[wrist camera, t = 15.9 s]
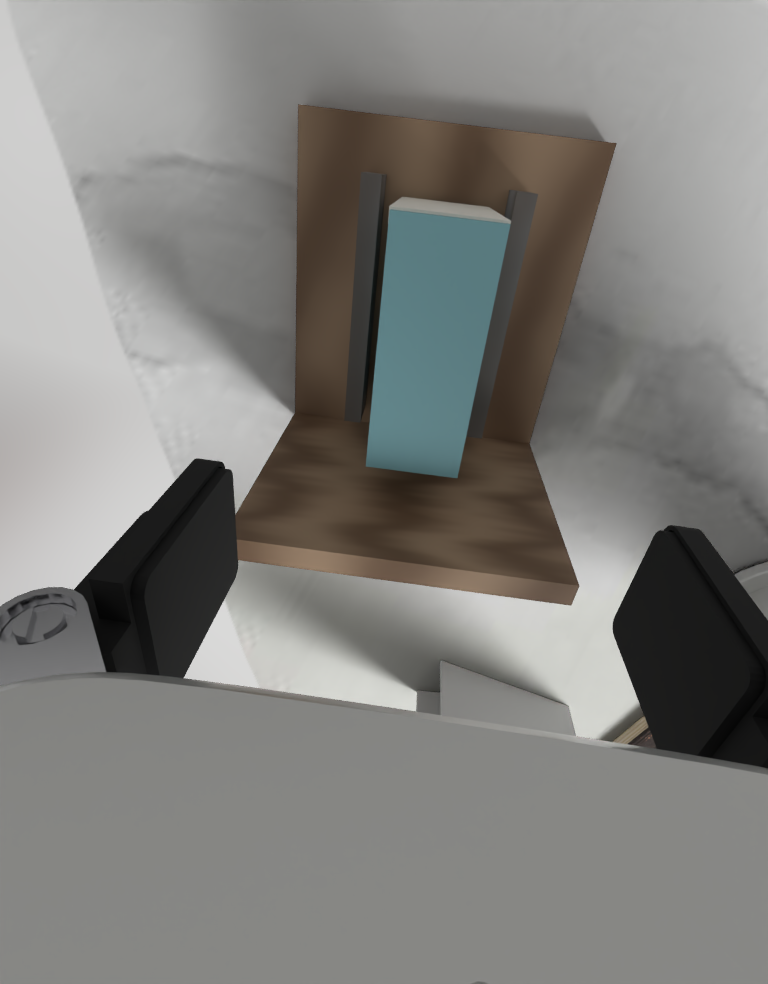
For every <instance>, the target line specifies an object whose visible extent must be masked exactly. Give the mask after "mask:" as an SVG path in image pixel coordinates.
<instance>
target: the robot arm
mask: <svg viewBox="0 0 768 984" xmlns="http://www.w3.org/2000/svg"><path fill="white" fill-rule="evenodd" d="M237 570H238V552H237V536H236V520H235V504H234V489H233V475H232V471H231V470H229V469H225V466H224V464H223V463H222V462H219V461H212V460H205V459H195V460H193V461H192V462H191V464H190V465H189V466H188V467H187V468H186V469H185V470H184V471H183V473H182V474H181V475H180V476H179V477H178V478H177V479H176V481H175V482H174V483H173V484H172V485H171V486H170V487H169V488H168V490H167V491H166V492H165V493H164V494H163V495H162V496H161V497H160V499H159V500H158V501H157V502H156V503H155V504H154V505H153V506H152V508H151V509H150V510H149V511H146V512H144V513H143V514H142V515H141V516H140V517H139V518H138V519H137V520H136V521H135V522H134V523H133V525H132V526H131V527H130V528H129V529H128V530H127V531H126V532H125V533H124V535H123V536H122V537H121V538H120V539H119V540H118V541H117V542H116V544H115V545H114V546H113V547H112V548H111V549H110V550H109V551H108V553H106V555H105V556H104V557H103V558H102V559H101V560H100V561H99V562H98V563H97V565H96V566H95V567H94V568H93V569H92V570H91V571H90V572H89V573H88V575H87V576H86V577H85V578H84V579H83V580H82V581H81V582H80V584H79V585H78V586H77V587H76V588H75V589H74V590H72V589H67V588H63V587H48V588H43V589H38V590H33V591H30V592H27V593H24V594H22V595H19V596H17V597H15V598H13V599H11V600H10V601H8V602H6V603H5V604H3V605H2V606H0V984H768V562H766V563H762V564H758V565H755V566H753V567H750V568H748V569H745V570H743V571H740V572H738V573H737V574H735V575H734V574H733V573H732V571H731V570H730V569H729V567H728V566H727V565H726V563H725V562H724V561H723V559H722V558H721V556H720V555H719V554H718V552H717V551H716V550H715V548H714V547H713V546H712V544H711V543H710V542H709V540H708V539H707V538H706V536H705V535H704V534H703V532H702V531H701V530H699V529H695V528H687V527H680V526H673V525H670V526H667V527H666V528H665V529H664V531H661V530H660V531H658V532H657V533H656V534H655V535H654V537H653V539H652V541H651V543H650V545H649V548H648V550H647V552H646V554H645V556H644V558H643V560H642V562H641V564H640V566H639V568H638V570H637V572H636V574H635V576H634V578H633V580H632V582H631V585H630V587H629V589H628V591H627V593H626V595H625V597H624V599H623V601H622V603H621V605H620V607H619V609H618V611H617V613H616V615H615V618H614V621H613V634H614V637H615V640H616V642H617V645H618V648H619V650H620V653H621V656H622V658H623V661H624V663H625V666H626V669H627V671H628V674H629V677H630V679H631V682H632V685H633V687H634V690H635V692H636V695H637V698H638V700H639V703H640V706H641V708H642V711H643V714H644V716H645V719H646V722H647V724H648V727H649V729H650V732H651V735H652V737H653V740H654V743H655V745H656V748H657V749H653V748H647V747H641V746H634V745H628V744H622V743H616V742H609V741H603V740H597V739H590V738H584V737H578V736H571V735H565V734H559V733H552V732H546V731H540V730H533V729H527V728H520V727H514V726H507V725H501V724H494V723H488V722H481V721H475V720H468V719H462V718H455V717H448V716H442V715H435V714H429V713H422V712H415V711H409V710H402V709H396V708H389V707H383V706H376V705H369V704H362V703H355V702H349V701H342V700H335V699H328V698H321V697H315V696H308V695H301V694H294V693H287V692H281V691H274V690H267V689H260V688H253V687H245V686H238V685H230V684H222V683H215V682H207V681H200V680H192V679H184V676H185V674H186V672H187V670H188V668H189V666H190V664H191V662H192V660H193V659H194V657H195V655H196V653H197V651H198V649H199V647H200V645H201V643H202V641H203V639H204V637H205V635H206V633H207V632H208V630H209V628H210V626H211V624H212V622H213V620H214V618H215V616H216V614H217V612H218V610H219V608H220V606H221V605H222V603H223V601H224V599H225V597H226V595H227V593H228V591H229V589H230V587H231V585H232V583H233V582H234V580H235V577H236V574H237Z"/></svg>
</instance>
